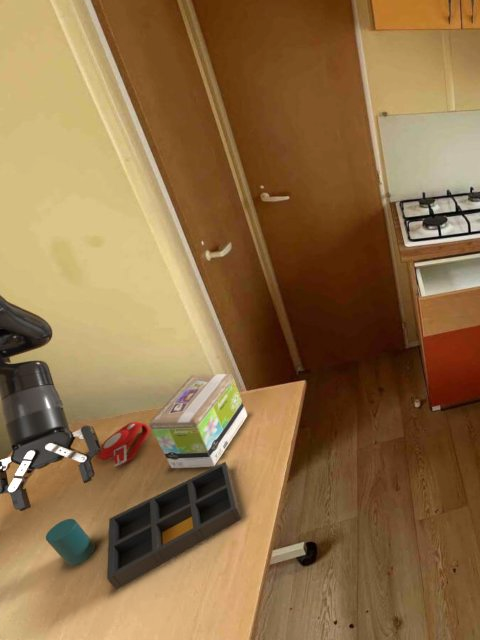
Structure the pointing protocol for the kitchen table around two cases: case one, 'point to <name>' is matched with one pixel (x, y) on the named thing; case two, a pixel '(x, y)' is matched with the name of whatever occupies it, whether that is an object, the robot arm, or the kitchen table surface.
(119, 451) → the tracker holder
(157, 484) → the kitchen table surface
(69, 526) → the cylinder
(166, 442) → the tea box
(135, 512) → the grid
